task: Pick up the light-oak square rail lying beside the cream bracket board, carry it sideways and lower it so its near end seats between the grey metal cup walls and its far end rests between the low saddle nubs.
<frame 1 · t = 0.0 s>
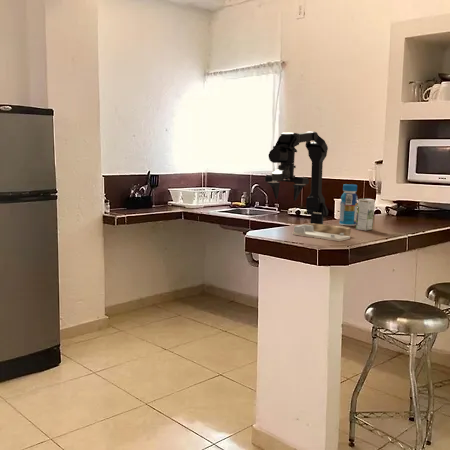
hand: (285, 199, 234), 15 cm above the countertop, fingers open, 9 cm apart
bracket board: (321, 236, 233), on the countertop
oak rail: (329, 234, 240), on the countertop
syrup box: (364, 230, 259), on the countertop
beverage bottle: (347, 225, 274), on the countertop
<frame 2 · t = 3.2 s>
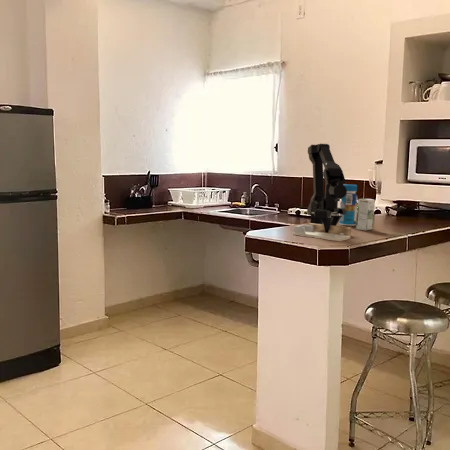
hand: (329, 231, 240), 1 cm above the countertop, fingers closed on oak rail, 4 cm apart
oak rail: (329, 234, 240), on the countertop, touching gripper
everything else where it was.
when the fingers open (3 cm above the countertop, at t = 9.2 s): oak rail stays where it is, resting on bracket board.
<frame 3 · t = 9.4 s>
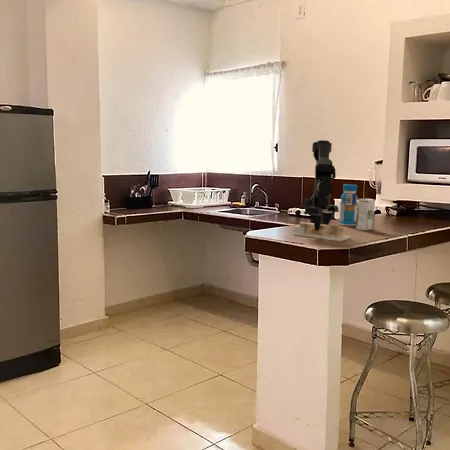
hand: (320, 229, 233), 3 cm above the countertop, fingers open, 6 cm apart
oak rail: (320, 234, 233), point 1 cm above the countertop, touching bracket board
everything else where it was.
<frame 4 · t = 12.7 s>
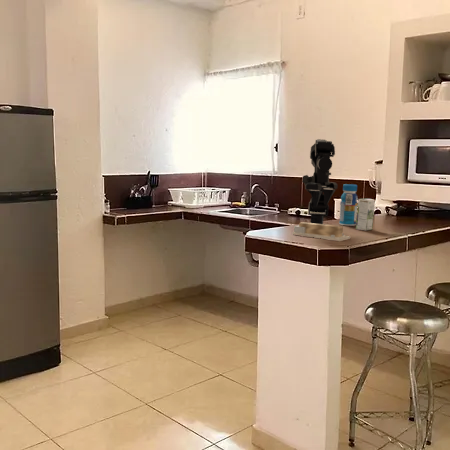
hand: (320, 205, 242), 12 cm above the countertop, fingers open, 9 cm apart
nothing on the countertop moved.
at the end: oak rail 0.2 cm off-centre on the bracket board, point 1.0 cm above the bracket board's base; oak rail tilted 0°; the gripper is holding nothing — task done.
